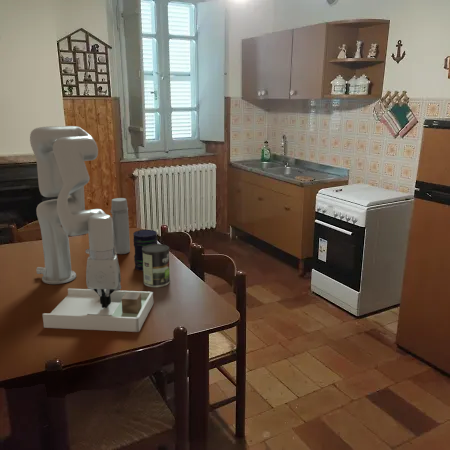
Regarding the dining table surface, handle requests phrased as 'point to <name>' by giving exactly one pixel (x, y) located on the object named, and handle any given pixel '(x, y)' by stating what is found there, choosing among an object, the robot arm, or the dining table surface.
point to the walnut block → (131, 303)
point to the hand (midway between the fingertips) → (105, 305)
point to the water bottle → (120, 225)
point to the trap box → (97, 312)
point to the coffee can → (156, 265)
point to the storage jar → (142, 245)
